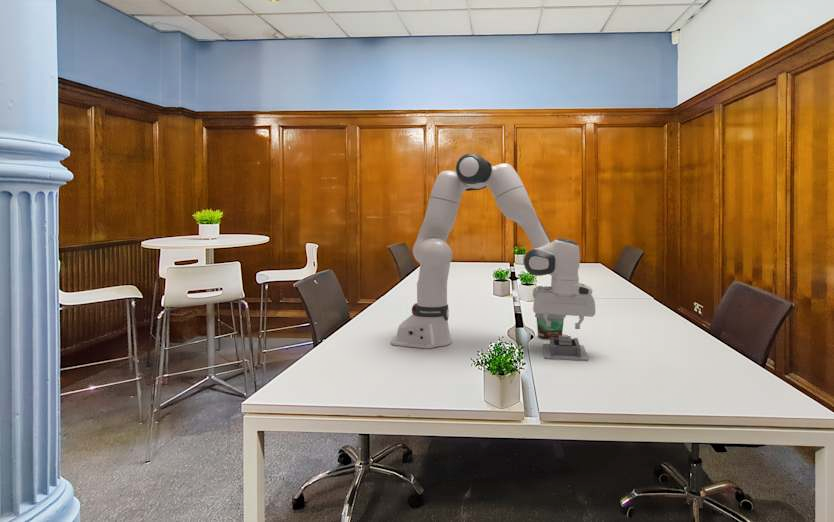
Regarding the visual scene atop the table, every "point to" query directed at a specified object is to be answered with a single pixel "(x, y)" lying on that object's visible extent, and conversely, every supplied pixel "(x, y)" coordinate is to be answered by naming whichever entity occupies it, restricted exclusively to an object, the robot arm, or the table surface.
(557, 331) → the food container
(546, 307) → the robot arm
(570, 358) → the pocket
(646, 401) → the table surface
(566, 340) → the servo
